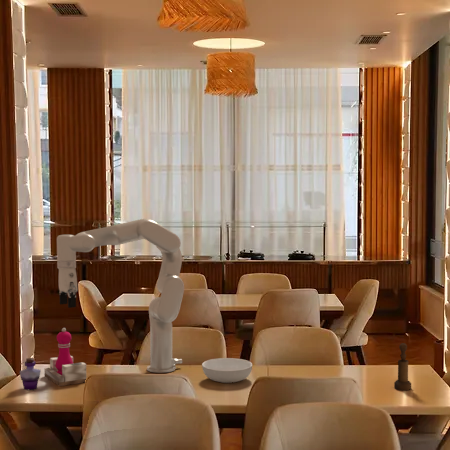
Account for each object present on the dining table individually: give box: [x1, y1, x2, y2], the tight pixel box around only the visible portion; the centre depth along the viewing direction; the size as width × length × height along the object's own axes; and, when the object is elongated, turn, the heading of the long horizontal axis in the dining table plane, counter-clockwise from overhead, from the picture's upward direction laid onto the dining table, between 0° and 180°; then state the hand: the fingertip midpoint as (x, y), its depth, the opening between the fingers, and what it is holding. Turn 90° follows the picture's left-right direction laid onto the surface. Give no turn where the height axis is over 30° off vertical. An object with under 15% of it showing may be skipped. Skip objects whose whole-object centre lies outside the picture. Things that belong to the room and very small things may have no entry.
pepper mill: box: [56, 327, 74, 375], centre depth 319 cm, size 7×7×20 cm
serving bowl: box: [201, 357, 253, 384], centre depth 318 cm, size 21×21×7 cm
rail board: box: [44, 355, 87, 387], centre depth 319 cm, size 12×18×8 cm, turn 32°
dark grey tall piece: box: [393, 342, 412, 391], centre depth 304 cm, size 7×6×18 cm
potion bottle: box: [19, 357, 41, 391], centre depth 305 cm, size 9×9×12 cm
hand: (67, 305), depth 318 cm, fingers open, 9 cm apart
